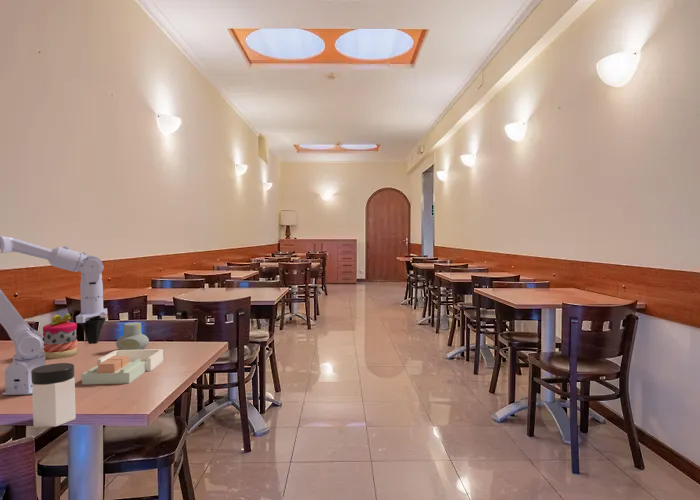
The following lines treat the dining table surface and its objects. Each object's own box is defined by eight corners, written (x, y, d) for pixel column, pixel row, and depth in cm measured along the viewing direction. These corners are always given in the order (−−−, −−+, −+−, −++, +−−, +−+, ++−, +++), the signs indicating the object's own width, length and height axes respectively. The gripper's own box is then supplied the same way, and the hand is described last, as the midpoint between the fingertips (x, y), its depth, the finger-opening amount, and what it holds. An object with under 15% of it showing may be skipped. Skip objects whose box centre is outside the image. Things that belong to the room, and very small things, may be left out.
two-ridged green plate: (129, 383, 131) (129, 369, 131) (82, 384, 130) (81, 370, 130) (145, 371, 143) (145, 358, 142) (102, 372, 142) (102, 359, 142)
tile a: (114, 372, 131) (114, 363, 131) (98, 373, 131) (98, 364, 131) (121, 368, 135) (121, 359, 135) (105, 368, 135) (105, 360, 135)
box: (150, 371, 143) (150, 358, 143) (97, 372, 142) (97, 359, 142) (164, 360, 155) (164, 349, 155) (115, 362, 154) (115, 350, 154)
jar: (84, 412, 108) (82, 362, 108) (66, 426, 100) (64, 371, 100) (43, 414, 108) (42, 363, 107) (22, 428, 99) (20, 373, 99)
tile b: (122, 367, 136) (122, 359, 136) (106, 368, 136) (106, 359, 136) (128, 363, 140) (128, 355, 140) (113, 364, 140) (113, 355, 140)
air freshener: (113, 353, 165) (112, 326, 165) (121, 348, 174) (120, 322, 173) (144, 352, 167) (144, 325, 167) (151, 347, 175) (151, 321, 175)
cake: (35, 358, 160) (34, 315, 160) (61, 351, 170) (60, 310, 170) (60, 359, 158) (59, 316, 157) (84, 352, 168) (83, 311, 168)
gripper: (94, 300, 128) (95, 348, 128) (116, 293, 142) (118, 337, 143) (67, 300, 128) (69, 349, 128) (93, 294, 142) (94, 338, 142)
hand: (93, 343), depth 135 cm, fingers closed
